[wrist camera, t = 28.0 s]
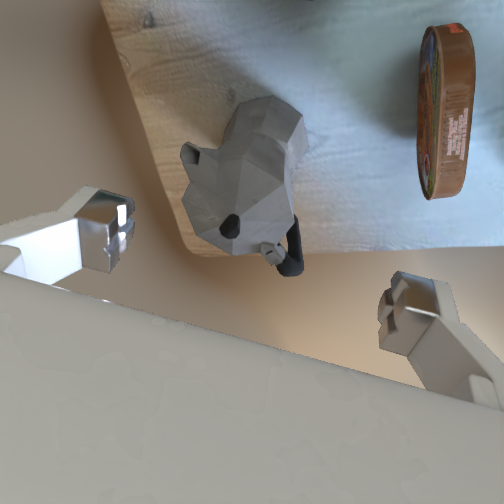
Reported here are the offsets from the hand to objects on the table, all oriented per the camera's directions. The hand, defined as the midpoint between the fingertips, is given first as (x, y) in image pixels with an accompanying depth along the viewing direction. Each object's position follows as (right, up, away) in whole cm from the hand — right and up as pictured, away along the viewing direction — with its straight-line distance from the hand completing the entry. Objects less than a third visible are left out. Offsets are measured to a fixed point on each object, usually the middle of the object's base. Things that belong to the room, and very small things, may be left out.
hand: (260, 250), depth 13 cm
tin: (+17, +14, +28) cm, 36 cm away
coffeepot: (+2, +12, +33) cm, 35 cm away
